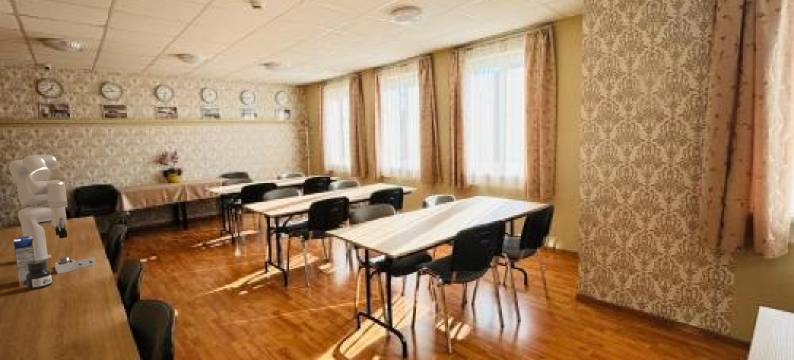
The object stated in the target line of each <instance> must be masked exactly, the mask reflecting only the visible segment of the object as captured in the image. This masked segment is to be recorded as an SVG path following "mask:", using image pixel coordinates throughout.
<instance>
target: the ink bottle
mask: <svg viewBox="0 0 794 360" xmlns="http://www.w3.org/2000/svg"><path fill="white" fill-rule="evenodd" d="M27 267H28V271H29V273H28V274H27V275H26V282H27V285H26V287H27V289H28V290H38V289H43V288H46V287H49V286H51V285H52V284H53V280H52V272H51V270H50V269H48V264H47V259H45V260H38V261H33V262H29V263H27Z"/></svg>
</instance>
